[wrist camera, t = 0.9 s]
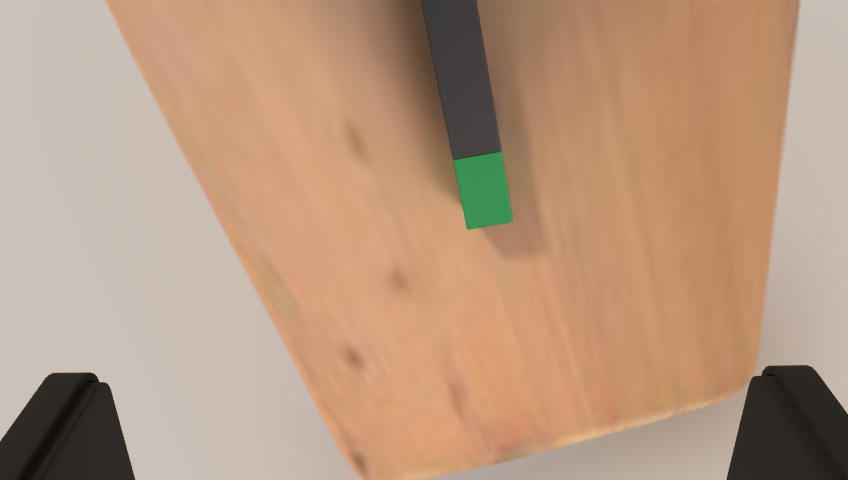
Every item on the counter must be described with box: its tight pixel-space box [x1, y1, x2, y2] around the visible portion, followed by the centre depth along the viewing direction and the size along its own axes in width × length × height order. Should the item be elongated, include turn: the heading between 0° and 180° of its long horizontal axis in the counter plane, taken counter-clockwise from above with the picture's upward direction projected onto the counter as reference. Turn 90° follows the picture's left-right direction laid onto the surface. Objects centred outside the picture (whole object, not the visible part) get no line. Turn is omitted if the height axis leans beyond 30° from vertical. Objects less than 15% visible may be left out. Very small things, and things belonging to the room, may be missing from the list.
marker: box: [421, 0, 513, 230], centre depth 36 cm, size 14×2×2 cm, turn 12°
